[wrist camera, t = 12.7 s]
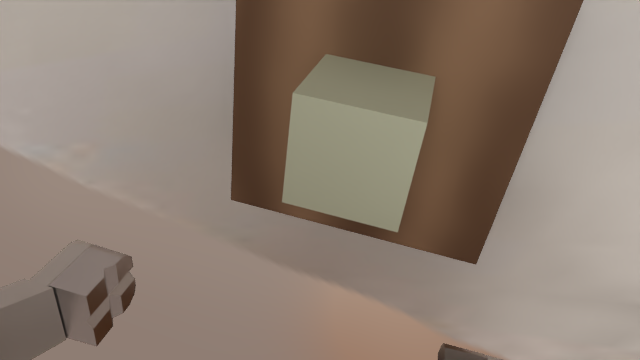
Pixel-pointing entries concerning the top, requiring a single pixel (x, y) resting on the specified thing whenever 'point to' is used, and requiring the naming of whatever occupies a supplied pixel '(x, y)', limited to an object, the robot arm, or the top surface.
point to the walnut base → (445, 111)
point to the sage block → (356, 140)
